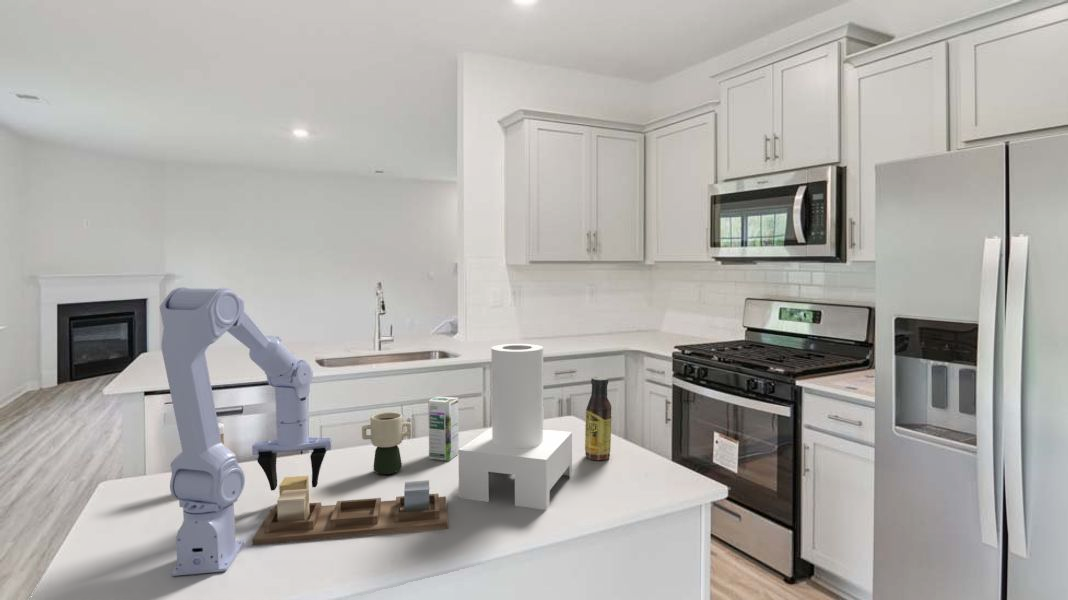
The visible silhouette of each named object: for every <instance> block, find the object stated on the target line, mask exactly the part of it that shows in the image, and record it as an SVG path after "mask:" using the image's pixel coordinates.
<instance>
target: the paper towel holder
mask: <svg viewBox="0 0 1068 600" xmlns="http://www.w3.org/2000/svg"><path fill="white" fill-rule="evenodd" d="M457 456H458V498H460V499H466V500H473V501H481V502H487V503H489V502H490V500H489V499H490V496H489V473H497V474H506V475H514V506H515V507H524V508H531V509H536V510H542V511H543V510H544V511H547V510H548V509H549V507H550V498H551V497H550V494H551V493H550V491H551V489H552V488H553V487H554V485H555V484H556V483H558V481H559V480H560V479H561V477H562V476H567V477H568V476H569V479H571V478H572V476H573V432H572V431H563V430H554V429H552V430H551V429H544V346H542V345H539V344H532V343H531V344H530V343H505V344H504V343H503V344H497V345H493V346H491V427H489V428H488V429H486V430H485V431H484V432H481V434H479V435H477V436H476V437H475V438H474V439H473V438H472V440H470V441H469V442H467V443H466V444H465V445H463V446H462V447H460V448H459V450H458V455H457Z"/></svg>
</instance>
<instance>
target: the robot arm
mask: <svg viewBox="0 0 1068 600" xmlns="http://www.w3.org/2000/svg"><path fill="white" fill-rule="evenodd" d="M159 311H160V317H161V322H162V327H163V330H162V331H163V332H162V335H161V336H162V337H161V353H162V357H163V362H164V368H165V371H166V378H167V382H168V383H167V384H168V387H169V392H170V397H171V402H172V406H173V407H172V408H173V412H174V417H175V422H176V426H177V430H178V436H179V441H180V445H181V446H180V447H181V450H182V451H181V452H180V453H179V454H177V456H175V458H174V459H173V460H172V461H171V462H170V467H171V476H170V482H169V490H170V494H171V496H172V497H173V498H175V499H176V500H178V501H179V502H178V503H179V508H182V509H183V510H182V512H183V515H182V516H183V520H182V521H183V522H182V523H181V525H180V527H179V529H178V530H177V533H176V537H175V545H176V546H175V547H176V566H175V567H174V569H172V570H171V572H170V575H171V576H172V577H177V576H189V575H198V574H199V575H200V574H206V573H220V572H225V571H227V570H228V569H229V568H230V566H231V564H232V563H233V562H234V560H235V558H236V556H238V553H239V552H240V551H241V549H242V547H243V546H244V544H245V541H244V539H243V540H242V539H241V540H236V525H235V523H236V522H235V521H236V520H235V503H236V502H237V501H238V499H239V498H240V496H241V494H242V493H243V491H244V487H245V481H246V479H245V473H244V470H243V469H242V467H241V466H240V465H239V462H238V459H237V455H236V454H235V453H234V452H233V451H232V450H230V449H229V448H228V447H227V446H226V445H225V444H224V445H223V444H222V442H221V437H220V431H219V426H218V423H219V422H218V415H217V412H216V406H215V405H216V404H215V400H214V394H213V389H212V384H211V379H210V378H211V377H210V372H209V368H208V367H209V366H208V362H207V356H206V351H207V349H208V348H209V347H210V346H211V345H213V344H214V343H216V342H217V341H218V340H219V339H220V338H221V337H222V336H223V335H224V334H226V333H228V334H230V335H231V336H232V337H234V338H235V339H236V340H238V341H239V342H240V344H242V345H243V346H245V347H247V349H249V353H248V356H249V359H250V360H251V361H252V362H253V363H255V365H257V366H258V367H259V369H261V370H262V371H263V372H264V374H265V376H266V380H267V384H268V385H269V387H270V386H271V387H272V388H274V393H275V394H274V396H275V398H274V399H275V416H276V417H275V418H276V419H275V422H276V439H272V440H266V441H256V442H254V443H253V444H252V446H251V448H252V456H258V457H257V459H256V460H257V463H258V464H259V466H260V467H261V469H262V470H263V472H264V474H265V476H266V479H267V480H268V483H269V484H268V485H269V487H270V488H269V489H270V491H275V490H276V489H277V487H278V475H277V473H278V472H277V456H278V453H289V452H304V451H305V452H306V451H307V452H308V451H312V452H311V453H310V456H309V458H310V464H311V488H317V486H318V483H319V476H320V472H321V471H320V470H321V468H322V467H321V466H322V464H323V461H324V459H325V455H326V453H327V451H331V450H332V449H333V437H312V436H311V437H309V422H308V421H309V420H308V418H309V417H308V416H309V415H308V396H309V395H310V392H311V391H310V388H311V383H312V381H313V377H314V371H313V369H312V367H311V365H310V363H308V362H307V361H306V360H305V359H298V357H296V356H295V354H294V353H293V352H292V351H290V349H288V348H287V347H286V345H285V344H284V343H282V339H281V338H280V337H279V336H275V335H266V334H265V333H264V332H263V331H262V330H261V329H260V327H259V326H258V325H257V323H256V322H255V320H253V319H252V317H251V316H250V315H249V314H248V313H247V311H246V310H245V301H244V299H242V298H241V297H240V296H239V295H238V294H237V293H236V292H235V291H234V290H233V289H232V288H228V287H222V288H221V287H219V288H189V287H188V288H187V287H184V286H183V287H177V288H175V289H172V290H171V291H170V292H169V293H168V295H167V296H166V297H165V298H164V300H163V301H162V302H161V304H160V305H159Z"/></svg>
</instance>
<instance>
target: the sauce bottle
mask: <svg viewBox="0 0 1068 600" xmlns="http://www.w3.org/2000/svg"><path fill="white" fill-rule="evenodd" d="M590 383H591V394H590V398H589V401H588V403H587V405H586V409H585V428H584V429H585V433H584V434H585V435H584V436H585V438H584V452H585V457H586V458H587V459H589V460H591V461H592V460H593V461H595V462H596V461H604V460H608V459H609V458H610V456H611V455H610V454H611V442H612V404H611V402H610V400H609V399H608V398H609V397H608V384H609V378H608V377H606V376H599V375H597V376H596V375H595V376H592V377H591V379H590Z"/></svg>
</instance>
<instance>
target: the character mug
mask: <svg viewBox="0 0 1068 600" xmlns="http://www.w3.org/2000/svg"><path fill="white" fill-rule="evenodd" d="M403 421H404V420H403V414H402V413H401V412H396V411H395V412H393V411H391V412H390V411H389V412H380V413H375V414H373V415H371V417H370V424H365V425H362V427H361V438H362V440H365V441H366V440H370V441H371V443H372V446H374V447H376V449H375V451H374V460H373V471H374V472H375V473H377V474H381V475H391V474H394V473H397V472H398V471H400V470H401V469H402V468H403V467H402V464H403V463H402V457H401V453H400V452H401V451H400V447H399V445H400V444H402V442H403V439H404V437H410V436H412V423H411V421H410V422H409V421H405V422H403ZM404 427H406V431H404ZM367 430H370V434H367Z"/></svg>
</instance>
